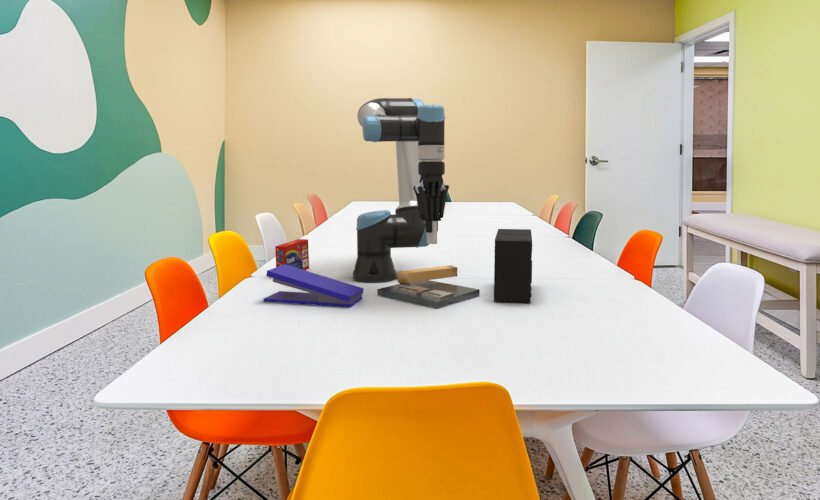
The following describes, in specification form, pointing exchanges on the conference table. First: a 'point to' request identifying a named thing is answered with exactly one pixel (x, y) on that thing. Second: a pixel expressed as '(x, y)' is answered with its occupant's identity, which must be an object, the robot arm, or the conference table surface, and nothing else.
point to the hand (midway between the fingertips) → (431, 243)
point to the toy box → (293, 254)
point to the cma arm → (426, 274)
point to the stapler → (312, 288)
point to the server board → (429, 293)
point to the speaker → (513, 265)
